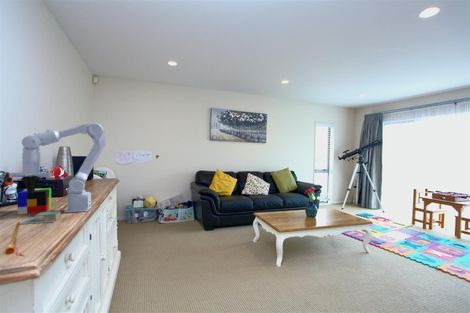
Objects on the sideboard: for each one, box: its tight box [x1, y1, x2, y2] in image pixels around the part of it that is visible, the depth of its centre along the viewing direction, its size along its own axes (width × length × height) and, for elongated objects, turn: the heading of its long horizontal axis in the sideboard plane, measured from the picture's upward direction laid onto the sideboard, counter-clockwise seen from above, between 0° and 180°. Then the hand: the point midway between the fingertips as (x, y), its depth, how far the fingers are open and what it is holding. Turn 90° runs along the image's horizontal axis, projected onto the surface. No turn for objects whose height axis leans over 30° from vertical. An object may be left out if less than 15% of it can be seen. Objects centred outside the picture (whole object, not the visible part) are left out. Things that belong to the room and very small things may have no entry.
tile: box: [34, 210, 61, 222], centre depth 96 cm, size 2×5×7 cm
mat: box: [19, 215, 62, 226], centre depth 95 cm, size 11×8×1 cm
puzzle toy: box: [17, 187, 52, 215], centre depth 110 cm, size 10×10×10 cm
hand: (31, 193), depth 102 cm, fingers closed
